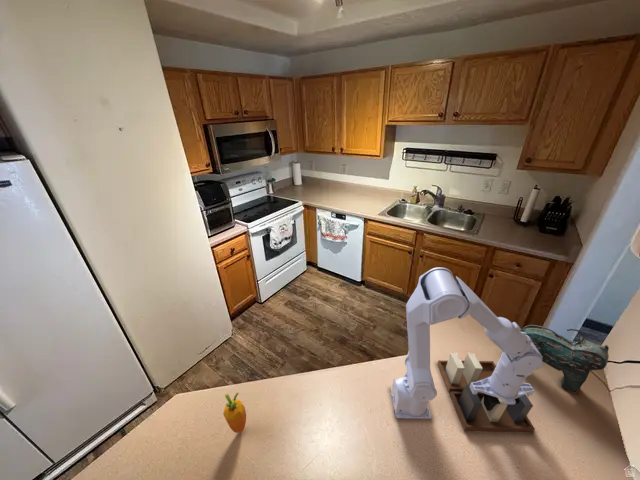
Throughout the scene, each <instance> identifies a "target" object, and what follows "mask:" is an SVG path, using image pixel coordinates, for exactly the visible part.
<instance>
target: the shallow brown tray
mask: <svg viewBox="0 0 640 480" xmlns="http://www.w3.org/2000/svg"><path fill="white" fill-rule="evenodd" d="M464 361H465V360H461V362H462V364H464ZM478 361H479V363H480V364H481V366H482V368H483V369H482V371H481V373H480V376H479V378H478V380H477V382H478V381H480V380H483V379H485V378H488V377H490V376H492V374H493V371H494V369H495V367H496V365H497V364H495V361H493V360H478ZM447 362H448V360H440V359H439V360H438V361H437V364H436V365H437V368H438V370H439V372H440V375H441V378H442V380H443V382H444V385H445V387H446V390H447V392H448V393H451V392H463V389H464V387H465V385H468V383H467V381H466V379H465V377H464V375H463V374H462V376H461V379H460V381H459V384H458V385H451V382H450V380H449V378H448V375H447V373H446V371H445V368H446V365H447Z"/></svg>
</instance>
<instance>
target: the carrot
mask: <svg viewBox="0 0 640 480" xmlns="http://www.w3.org/2000/svg"><path fill="white" fill-rule="evenodd" d="M239 394H240V393H239V392H236V393H235V394H234V396H233V399H232V400H231V397H230V395H229V393H228V392H226V393H225V395H224V397H225V399H226V401H227V403H226V404H225V407H224V409H223V416H224V418H225V421H226V423H227V425H228V427H229V428H230V430H231V431H232V432H233V433H235V434H241V433H242V432H244V430H245V428H246V423H247V413H246V412H247V411H246V408H245V404H244V403H243V402H242V400H240V399H237V397H238V395H239Z"/></svg>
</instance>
